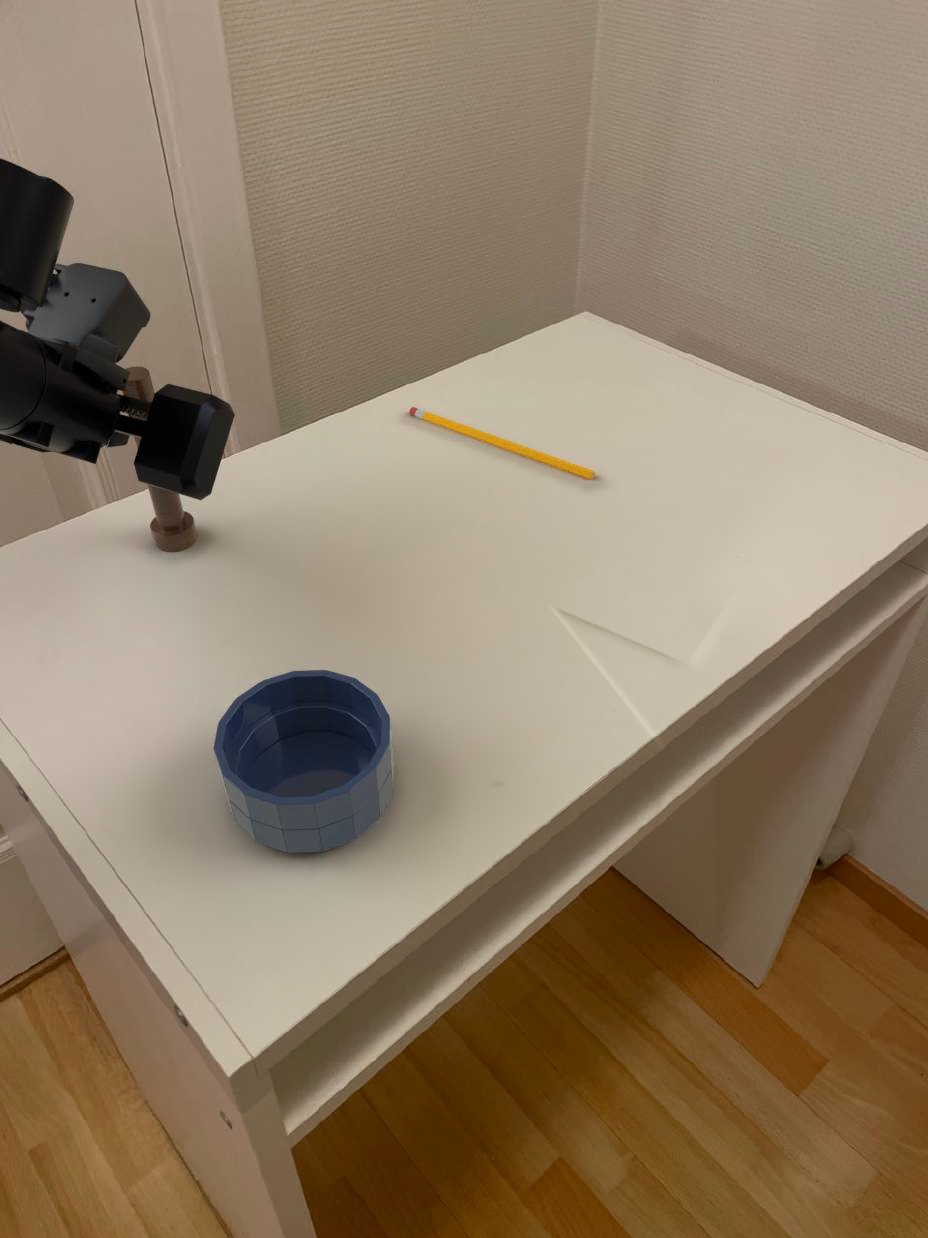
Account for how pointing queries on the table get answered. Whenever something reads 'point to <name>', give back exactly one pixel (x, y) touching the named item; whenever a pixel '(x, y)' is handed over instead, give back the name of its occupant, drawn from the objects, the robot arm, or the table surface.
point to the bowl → (306, 760)
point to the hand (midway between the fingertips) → (167, 449)
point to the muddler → (171, 521)
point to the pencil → (503, 443)
